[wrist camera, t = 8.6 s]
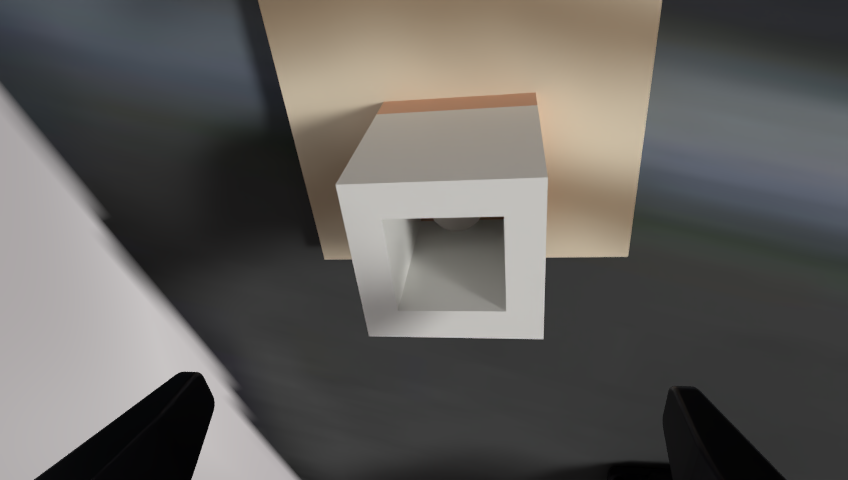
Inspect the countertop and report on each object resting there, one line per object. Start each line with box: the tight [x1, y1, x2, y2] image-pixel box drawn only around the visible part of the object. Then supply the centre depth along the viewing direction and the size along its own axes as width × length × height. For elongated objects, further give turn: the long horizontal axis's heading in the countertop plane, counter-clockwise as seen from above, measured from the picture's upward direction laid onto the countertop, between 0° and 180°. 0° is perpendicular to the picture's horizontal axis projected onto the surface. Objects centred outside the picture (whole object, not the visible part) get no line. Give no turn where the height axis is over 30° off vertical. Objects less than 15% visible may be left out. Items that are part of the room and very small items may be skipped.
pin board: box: [258, 0, 662, 260], centre depth 15 cm, size 18×12×4 cm, turn 6°
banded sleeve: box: [336, 92, 548, 339], centre depth 16 cm, size 5×5×6 cm
